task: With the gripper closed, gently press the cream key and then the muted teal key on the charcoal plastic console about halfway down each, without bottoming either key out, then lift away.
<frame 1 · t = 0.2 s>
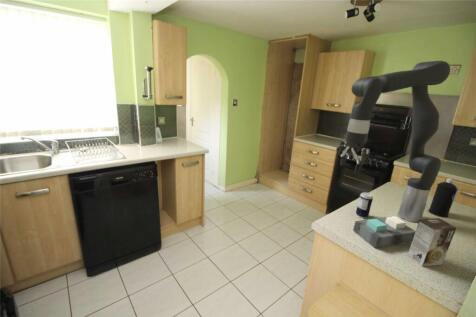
hand: (349, 168, 94), 29 cm above the countertop, tool pointing down, fingers open, 8 cm apart
coffee box: (424, 260, 86), on the countertop
teal key: (375, 227, 96), point 5 cm above the countertop, slide at 0.0 cm
aerosol can: (437, 213, 121), on the countertop
cream key: (394, 224, 98), point 5 cm above the countertop, slide at 0.0 cm
beverage can: (361, 216, 114), on the countertop
key console: (382, 236, 99), on the countertop
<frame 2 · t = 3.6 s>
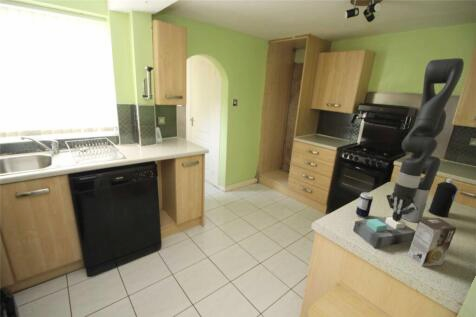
hand: (395, 220, 98), 7 cm above the countertop, tool pointing down, fingers closed
cream key: (394, 224, 98), point 5 cm above the countertop, slide at 0.1 cm, touching gripper
everything else where it was.
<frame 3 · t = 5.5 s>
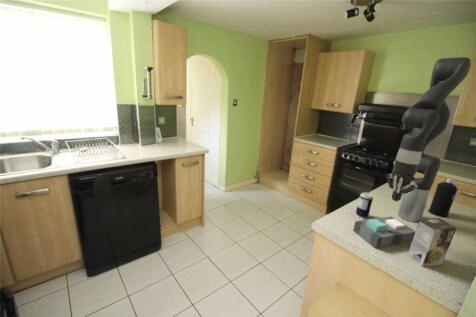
hand: (395, 200, 93), 18 cm above the countertop, tool pointing down, fingers closed
cream key: (394, 226, 99), point 4 cm above the countertop, slide at 1.3 cm
everything else where it was.
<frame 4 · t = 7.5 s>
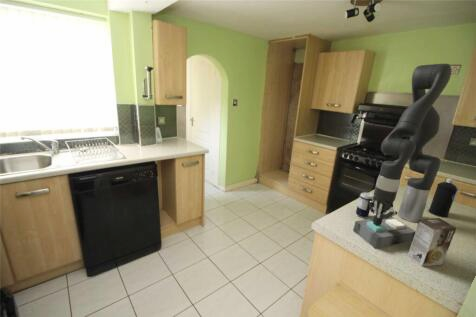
hand: (376, 224, 95), 7 cm above the countertop, tool pointing down, fingers closed
teal key: (375, 228, 96), point 4 cm above the countertop, slide at 0.9 cm, touching gripper
everything else where it was.
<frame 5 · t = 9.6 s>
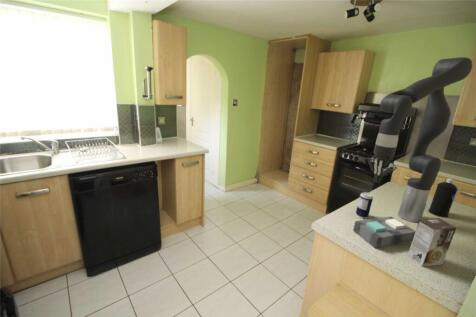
hand: (376, 182, 99), 22 cm above the countertop, tool pointing down, fingers closed
teal key: (375, 229, 96), point 4 cm above the countertop, slide at 1.3 cm
everything else where it was.
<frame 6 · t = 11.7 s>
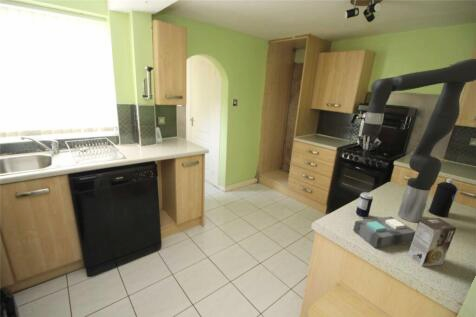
hand: (365, 156, 114), 29 cm above the countertop, tool pointing down, fingers closed
nothing on the countertop moved.
at the end: cream key slide at 1.3 cm; teal key slide at 1.3 cm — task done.
